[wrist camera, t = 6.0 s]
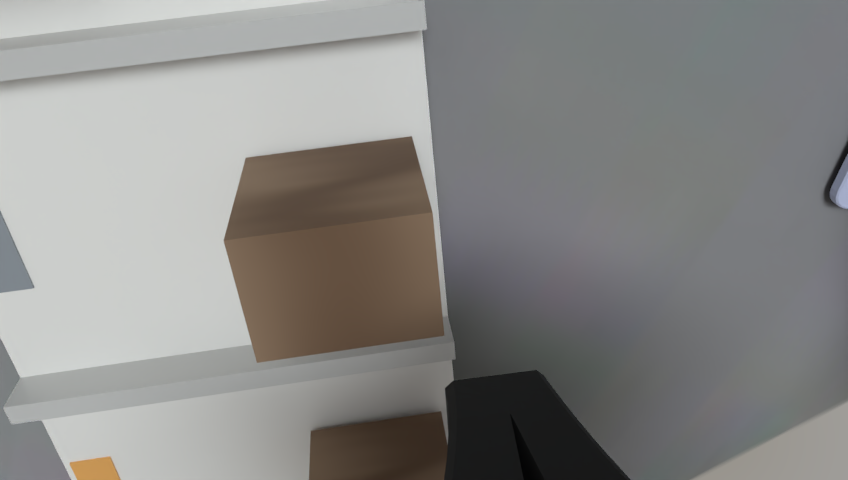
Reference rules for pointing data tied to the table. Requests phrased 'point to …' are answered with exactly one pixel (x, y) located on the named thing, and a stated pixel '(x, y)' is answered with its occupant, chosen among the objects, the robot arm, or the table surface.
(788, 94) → the table surface
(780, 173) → the table surface
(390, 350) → the white flat ridged tray
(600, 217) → the table surface
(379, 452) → the tab
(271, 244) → the tab middle
